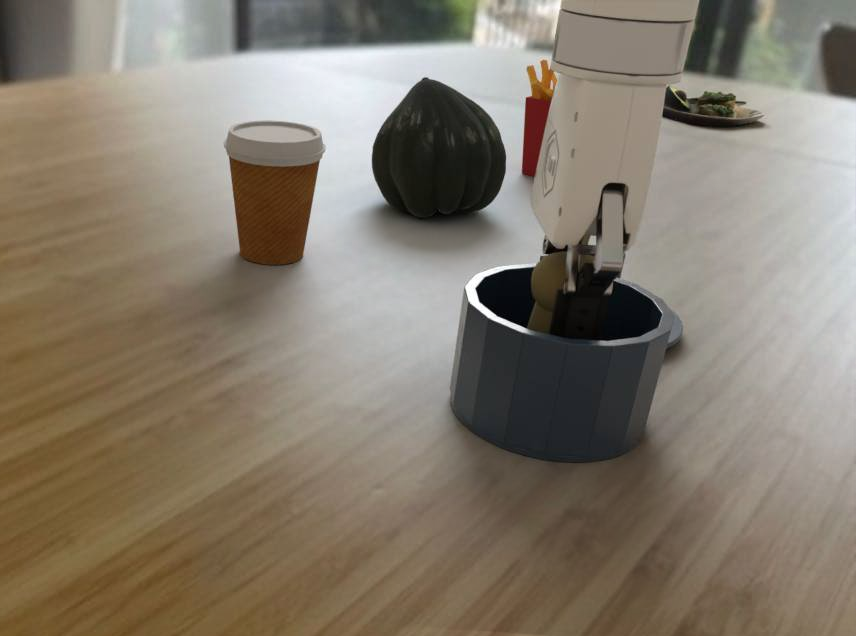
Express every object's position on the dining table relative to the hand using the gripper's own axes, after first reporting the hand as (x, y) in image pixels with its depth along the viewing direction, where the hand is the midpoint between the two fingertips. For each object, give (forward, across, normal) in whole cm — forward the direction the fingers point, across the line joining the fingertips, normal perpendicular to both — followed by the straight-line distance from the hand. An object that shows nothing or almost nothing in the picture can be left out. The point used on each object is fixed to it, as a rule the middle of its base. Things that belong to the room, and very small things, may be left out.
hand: (562, 326), depth 62 cm
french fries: (+7, -66, +12) cm, 67 cm away
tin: (+7, 0, 0) cm, 7 cm away
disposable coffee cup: (+7, -28, -22) cm, 36 cm away
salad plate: (+7, -111, +48) cm, 121 cm away
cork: (+6, 0, 0) cm, 6 cm away
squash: (+7, -46, -5) cm, 47 cm away
